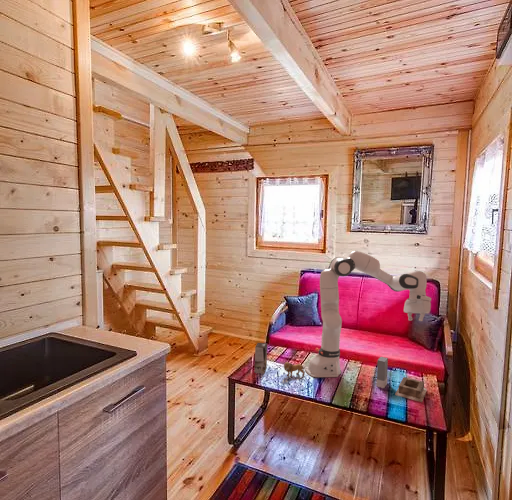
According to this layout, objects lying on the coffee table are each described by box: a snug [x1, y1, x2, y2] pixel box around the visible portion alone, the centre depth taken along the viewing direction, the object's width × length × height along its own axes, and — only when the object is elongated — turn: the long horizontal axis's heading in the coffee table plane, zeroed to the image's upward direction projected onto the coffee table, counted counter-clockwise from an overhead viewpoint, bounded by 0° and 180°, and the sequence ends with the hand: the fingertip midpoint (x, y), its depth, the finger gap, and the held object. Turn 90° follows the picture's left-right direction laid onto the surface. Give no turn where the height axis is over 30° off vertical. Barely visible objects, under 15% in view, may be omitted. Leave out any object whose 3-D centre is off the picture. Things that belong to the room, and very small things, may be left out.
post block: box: [394, 376, 428, 403], centre depth 179 cm, size 13×16×5 cm
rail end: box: [375, 356, 389, 389], centre depth 188 cm, size 4×7×15 cm, turn 146°
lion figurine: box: [283, 361, 306, 378], centre depth 198 cm, size 15×5×9 cm, turn 115°
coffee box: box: [254, 342, 268, 374], centre depth 204 cm, size 9×6×16 cm
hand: (415, 320), depth 196 cm, fingers open, 8 cm apart
